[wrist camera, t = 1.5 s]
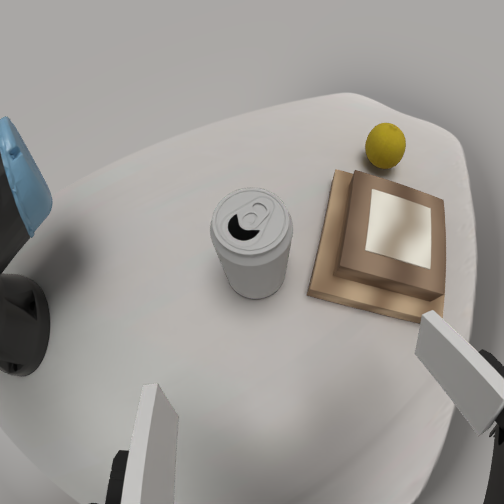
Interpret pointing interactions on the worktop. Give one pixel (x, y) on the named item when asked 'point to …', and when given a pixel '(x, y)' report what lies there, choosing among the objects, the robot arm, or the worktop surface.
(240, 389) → the worktop surface
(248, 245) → the beverage can
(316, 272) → the pedestal
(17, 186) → the robot arm
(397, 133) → the lemon
